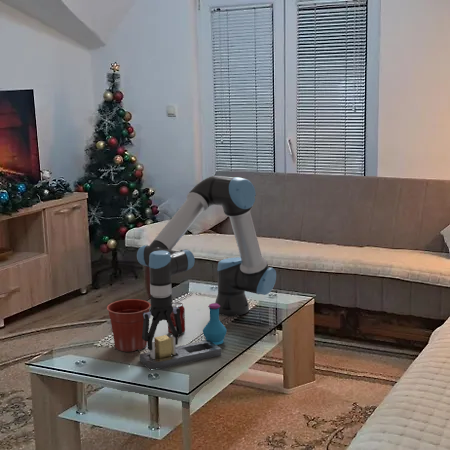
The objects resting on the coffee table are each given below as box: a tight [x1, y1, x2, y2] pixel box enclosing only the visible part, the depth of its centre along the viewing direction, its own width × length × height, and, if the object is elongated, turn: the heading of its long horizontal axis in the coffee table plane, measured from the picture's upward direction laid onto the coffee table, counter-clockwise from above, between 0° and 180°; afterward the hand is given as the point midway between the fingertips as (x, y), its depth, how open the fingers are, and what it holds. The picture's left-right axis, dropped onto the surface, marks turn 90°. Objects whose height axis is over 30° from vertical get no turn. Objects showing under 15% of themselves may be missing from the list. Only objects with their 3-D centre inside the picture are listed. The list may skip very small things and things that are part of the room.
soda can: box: [167, 301, 186, 335], centre depth 281 cm, size 7×7×12 cm
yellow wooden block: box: [153, 334, 173, 361], centre depth 253 cm, size 4×4×9 cm
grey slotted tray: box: [139, 339, 222, 371], centre depth 257 cm, size 28×10×2 cm, turn 118°
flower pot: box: [106, 298, 151, 353], centre depth 267 cm, size 16×16×16 cm
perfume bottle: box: [202, 302, 228, 346], centre depth 271 cm, size 9×9×15 cm
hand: (163, 355), depth 253 cm, fingers open, 7 cm apart
